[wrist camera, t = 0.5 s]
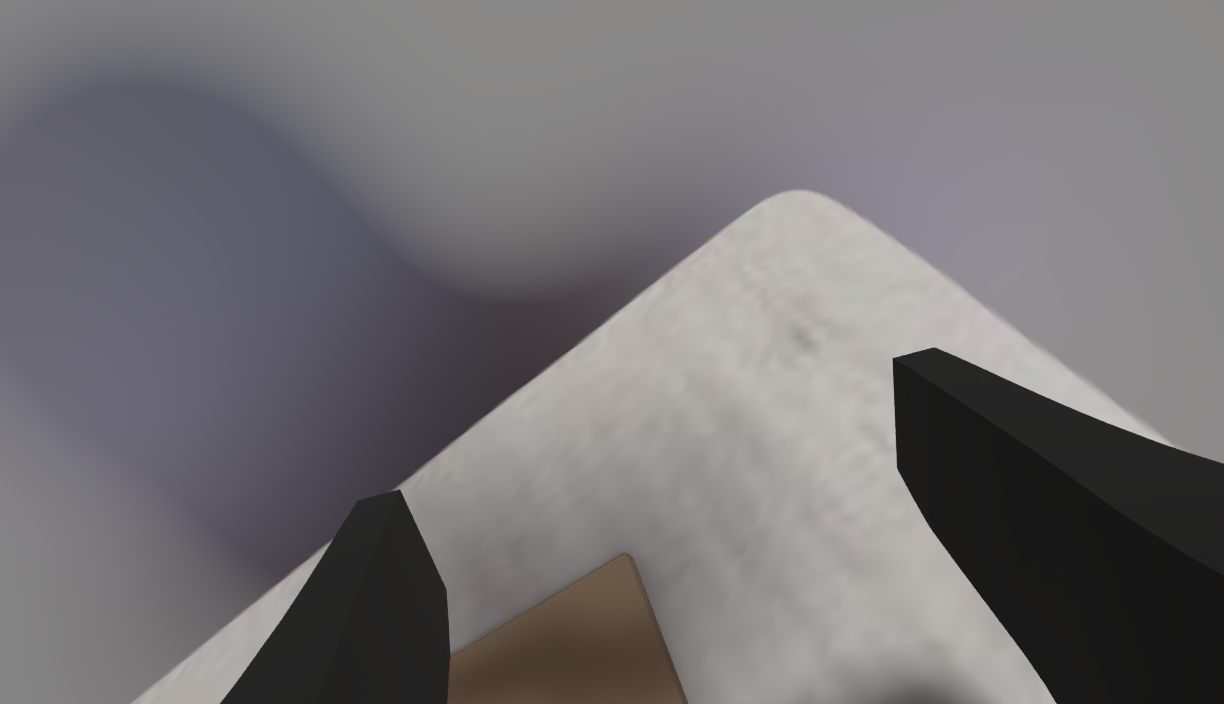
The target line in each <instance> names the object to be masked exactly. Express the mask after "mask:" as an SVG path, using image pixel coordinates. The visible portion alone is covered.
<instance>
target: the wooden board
mask: <svg viewBox="0 0 1224 704" xmlns="http://www.w3.org/2000/svg"><path fill="white" fill-rule="evenodd" d="M447 704H688V702H687V699H686V697H685V694H684V691H683V689H682V686H681V683H680V681H679V678H678V676H677V673H676V670H675V668H674V665H673V662H672V660H671V657H670V654H669V652H668V649H667V647H666V644H665V641H664V639H663V636H662V633H661V631H660V628H659V626H658V623H657V620H656V618H655V615H654V612H653V610H652V607H651V605H650V602H649V599H648V597H647V594H646V591H645V589H644V586H643V584H642V581H641V578H640V576H639V573H638V570H637V568H636V565H635V562H634V560H633V558H632V557H631V556H630V555H628V554H627V553H624V554H623V555H621V556H619V557H618V558H616V559H614V560H613V561H611V562H609V563H608V564H606V565H604V566H603V567H601V568H599V569H598V570H596V571H594V572H593V573H591V574H589V575H588V576H586V577H584V578H583V579H581V580H579V581H578V582H576V583H574V584H572V585H571V586H569V587H567V588H566V589H564V590H562V591H561V592H559V593H557V594H556V595H554V596H552V597H551V598H549V599H547V600H546V601H544V602H542V603H541V604H539V605H537V606H536V607H534V608H532V609H531V610H529V611H527V612H526V613H524V614H522V615H521V616H519V617H517V618H516V619H514V620H512V621H511V622H509V623H507V624H506V625H504V626H502V627H501V628H499V629H497V630H496V631H494V632H492V633H491V634H489V635H487V636H486V637H484V638H482V639H481V640H479V641H477V642H476V643H474V644H472V645H471V646H469V647H467V648H466V649H464V650H462V651H461V652H459V653H457V654H455V655H454V656H452V657H450V668H449V684H448V699H447Z"/></svg>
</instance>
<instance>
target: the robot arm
mask: <svg viewBox="0 0 1224 704" xmlns="http://www.w3.org/2000/svg"><path fill="white" fill-rule="evenodd" d="M893 380H894V404H895V428H896V452H897V469H898V471H899V473H900V475H901V476H902V478H903V480H904V482H905V484H906V486H907V488H908V489H909V491H910V493H911V495H912V497H913V499H914V501H915V502H916V504H917V506H918V508H919V509H920V511H921V513H922V514H923V516H924V518H925V520H926V521H927V523H928V525H929V527H930V528H931V529H932V531H933V532H934V534H935V535H936V536H937V538H938V539H939V541H940V542H941V543H942V545H943V546H944V547H945V549H946V550H947V551H948V553H949V554H950V555H951V557H952V558H953V560H954V561H955V562H956V564H957V565H958V566H959V568H960V569H961V570H962V572H963V573H964V574H965V576H966V577H967V578H968V580H969V581H970V582H971V584H972V585H973V586H974V588H975V589H976V590H977V592H978V593H979V594H980V596H981V597H982V598H983V600H984V601H985V602H986V604H987V605H988V606H989V608H990V609H991V610H992V612H993V613H994V614H995V616H996V617H997V618H998V620H999V621H1000V622H1001V624H1002V625H1003V626H1004V628H1005V629H1006V630H1007V632H1008V633H1009V634H1010V636H1011V637H1012V638H1013V640H1014V641H1015V642H1016V644H1017V645H1018V646H1019V648H1020V649H1021V650H1022V652H1023V653H1024V654H1025V656H1026V657H1027V659H1028V660H1029V662H1030V663H1031V665H1032V666H1033V668H1034V669H1035V670H1036V672H1037V673H1038V675H1039V676H1040V678H1041V679H1042V681H1043V682H1044V684H1045V685H1046V687H1047V688H1048V690H1049V692H1050V693H1051V695H1052V697H1053V698H1054V700H1055V702H1056V703H1057V704H1224V464H1223V463H1220V462H1216V461H1213V460H1209V459H1207V458H1203V457H1200V456H1197V455H1194V454H1191V453H1187V452H1185V451H1182V450H1179V449H1176V448H1173V447H1170V446H1167V445H1164V444H1161V443H1158V442H1156V441H1153V440H1150V439H1148V438H1145V437H1142V436H1140V435H1137V434H1135V433H1132V432H1129V431H1127V430H1124V429H1121V428H1119V427H1116V426H1113V425H1111V424H1108V423H1106V422H1103V421H1101V420H1098V419H1096V418H1093V417H1091V416H1089V415H1086V414H1084V413H1081V412H1079V411H1076V410H1074V409H1072V408H1069V407H1067V406H1065V405H1062V404H1060V403H1058V402H1055V401H1053V400H1051V399H1049V398H1046V397H1044V396H1042V395H1040V394H1037V393H1035V392H1033V391H1031V390H1028V389H1026V388H1024V387H1022V386H1020V385H1017V384H1015V383H1013V382H1011V381H1009V380H1006V379H1004V378H1002V377H1000V376H998V375H996V374H993V373H991V372H989V371H987V370H985V369H983V368H980V367H978V366H976V365H974V364H972V363H969V362H967V361H965V360H963V359H961V358H958V357H956V356H954V355H951V354H949V353H947V352H944V351H942V350H939V349H937V348H930V349H926V350H922V351H918V352H915V353H911V354H907V355H903V356H900V357H896V358H893ZM449 668H450V641H449V621H448V607H447V592H446V588H445V586H444V583H443V581H442V579H441V577H440V575H439V573H438V570H437V568H436V566H435V564H434V562H433V560H432V557H431V555H430V553H429V551H428V549H427V547H426V545H425V542H424V540H423V538H422V536H421V534H420V532H419V529H418V527H417V525H416V523H415V521H414V519H413V516H412V514H411V512H410V510H409V508H408V506H407V503H406V501H405V499H404V497H403V495H402V493H401V491H400V490H396V491H392V492H389V493H385V494H381V495H377V496H374V497H370V498H366V499H362V500H359V501H358V502H357V503H356V505H355V506H354V508H353V509H352V511H351V512H350V514H349V515H348V517H347V518H346V520H345V522H344V523H343V525H342V526H341V528H340V529H339V531H338V533H337V534H336V536H335V537H334V539H333V541H332V542H331V544H330V545H329V547H328V549H327V550H326V552H325V553H324V555H323V557H322V558H321V560H320V561H319V563H318V565H317V566H316V568H315V569H314V571H313V572H312V574H311V576H310V577H309V579H308V580H307V582H306V583H305V585H304V586H303V588H302V589H301V591H300V593H299V594H298V596H297V597H296V599H295V600H294V602H293V603H292V605H291V606H290V608H289V609H288V611H287V612H286V614H285V615H284V617H283V618H282V620H281V621H280V623H279V624H278V625H277V627H276V628H275V630H274V631H273V632H272V634H271V635H270V637H269V638H268V639H267V641H266V642H265V643H264V645H263V646H262V648H261V649H260V650H259V652H258V653H257V655H256V656H255V657H254V659H253V660H252V662H251V663H250V664H249V666H248V667H247V669H246V670H245V671H244V673H243V674H242V676H241V677H240V678H239V680H238V681H237V682H236V684H235V685H234V686H233V688H232V689H231V690H230V691H229V693H228V694H227V695H226V697H225V698H224V699H223V700H222V702H221V703H220V704H447V699H448V684H449Z"/></svg>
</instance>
